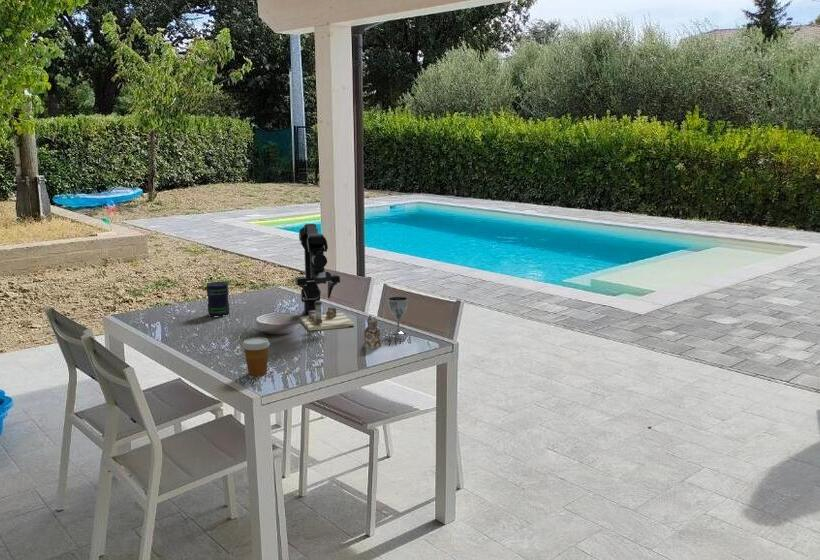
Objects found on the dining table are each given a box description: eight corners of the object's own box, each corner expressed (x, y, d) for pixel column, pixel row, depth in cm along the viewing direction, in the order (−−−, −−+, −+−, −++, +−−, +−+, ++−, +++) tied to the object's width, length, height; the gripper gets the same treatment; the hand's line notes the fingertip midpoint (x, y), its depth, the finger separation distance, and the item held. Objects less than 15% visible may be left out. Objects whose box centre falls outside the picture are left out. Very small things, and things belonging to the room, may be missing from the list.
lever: (308, 316, 343) (307, 295, 341) (315, 316, 344) (315, 294, 342) (315, 325, 328) (314, 303, 326) (323, 324, 329) (322, 302, 327)
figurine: (364, 348, 298) (363, 319, 296) (362, 344, 305) (361, 315, 303) (382, 347, 299) (381, 318, 297) (379, 342, 306) (379, 314, 304)
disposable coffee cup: (238, 376, 267) (236, 343, 264) (253, 368, 275) (251, 336, 273) (262, 378, 263) (260, 345, 261) (276, 370, 272) (274, 338, 270)
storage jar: (211, 318, 349) (209, 286, 346) (205, 314, 358) (203, 283, 355) (232, 315, 354) (230, 284, 351) (226, 311, 362) (224, 280, 360)
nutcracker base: (300, 320, 344) (299, 308, 343) (342, 316, 351) (342, 304, 350) (309, 330, 326) (308, 318, 325) (354, 326, 332) (353, 314, 331)
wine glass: (408, 330, 325) (408, 296, 322) (406, 335, 317) (406, 300, 314) (390, 330, 325) (389, 296, 323) (387, 335, 318) (387, 300, 315)
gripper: (299, 268, 314) (300, 305, 317) (342, 265, 320) (343, 301, 323) (294, 264, 325) (295, 299, 328) (336, 261, 331) (337, 296, 334)
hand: (318, 299), depth 328 cm, fingers open, 9 cm apart
